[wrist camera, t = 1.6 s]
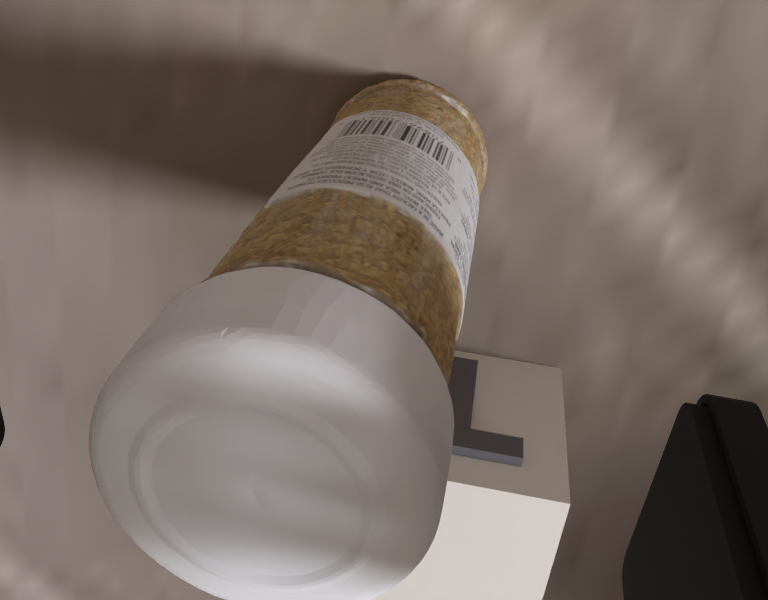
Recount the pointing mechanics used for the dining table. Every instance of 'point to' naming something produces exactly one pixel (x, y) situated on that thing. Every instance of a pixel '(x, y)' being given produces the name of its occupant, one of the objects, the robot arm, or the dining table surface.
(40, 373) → the dining table surface
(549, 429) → the lettered cube
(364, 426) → the sprinkles bottle
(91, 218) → the dining table surface
